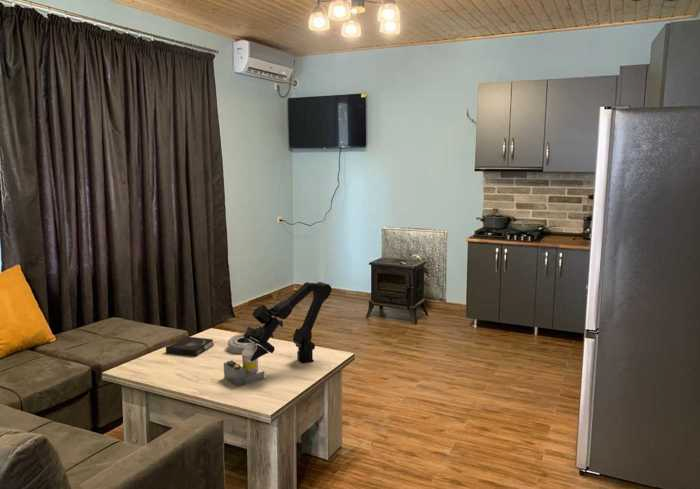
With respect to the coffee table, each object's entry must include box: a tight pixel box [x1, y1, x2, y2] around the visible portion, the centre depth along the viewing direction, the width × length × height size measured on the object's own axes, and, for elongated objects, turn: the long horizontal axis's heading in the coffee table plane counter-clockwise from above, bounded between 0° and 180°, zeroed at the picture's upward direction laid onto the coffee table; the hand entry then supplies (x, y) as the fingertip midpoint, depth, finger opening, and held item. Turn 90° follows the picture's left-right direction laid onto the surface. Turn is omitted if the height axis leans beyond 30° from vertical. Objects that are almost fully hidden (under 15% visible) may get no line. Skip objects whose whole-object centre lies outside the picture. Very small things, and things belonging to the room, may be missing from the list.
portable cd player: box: [165, 336, 215, 358], centre depth 274 cm, size 16×17×4 cm
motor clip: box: [223, 360, 265, 387], centre depth 238 cm, size 14×12×8 cm
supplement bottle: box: [241, 343, 259, 375], centre depth 239 cm, size 7×7×13 cm
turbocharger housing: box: [227, 332, 259, 355], centre depth 275 cm, size 17×6×15 cm
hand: (247, 358), depth 238 cm, fingers closed on supplement bottle, 7 cm apart
